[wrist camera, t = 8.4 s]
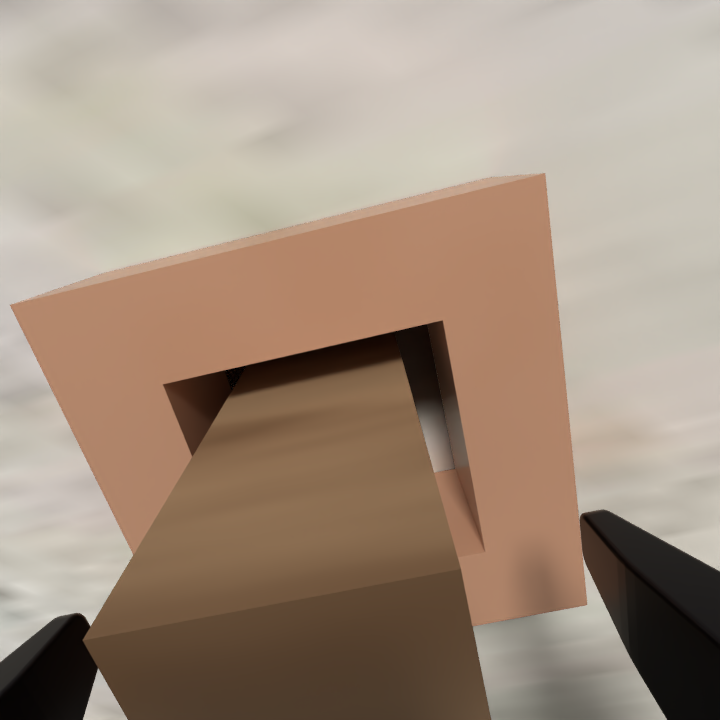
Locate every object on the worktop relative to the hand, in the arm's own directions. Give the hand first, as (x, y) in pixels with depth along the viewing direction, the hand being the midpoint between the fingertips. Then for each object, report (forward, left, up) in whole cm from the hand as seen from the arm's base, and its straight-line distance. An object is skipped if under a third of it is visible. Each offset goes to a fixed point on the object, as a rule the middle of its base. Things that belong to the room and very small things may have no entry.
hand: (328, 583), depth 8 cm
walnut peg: (0, 0, -8) cm, 8 cm away
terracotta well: (0, 0, -8) cm, 8 cm away
